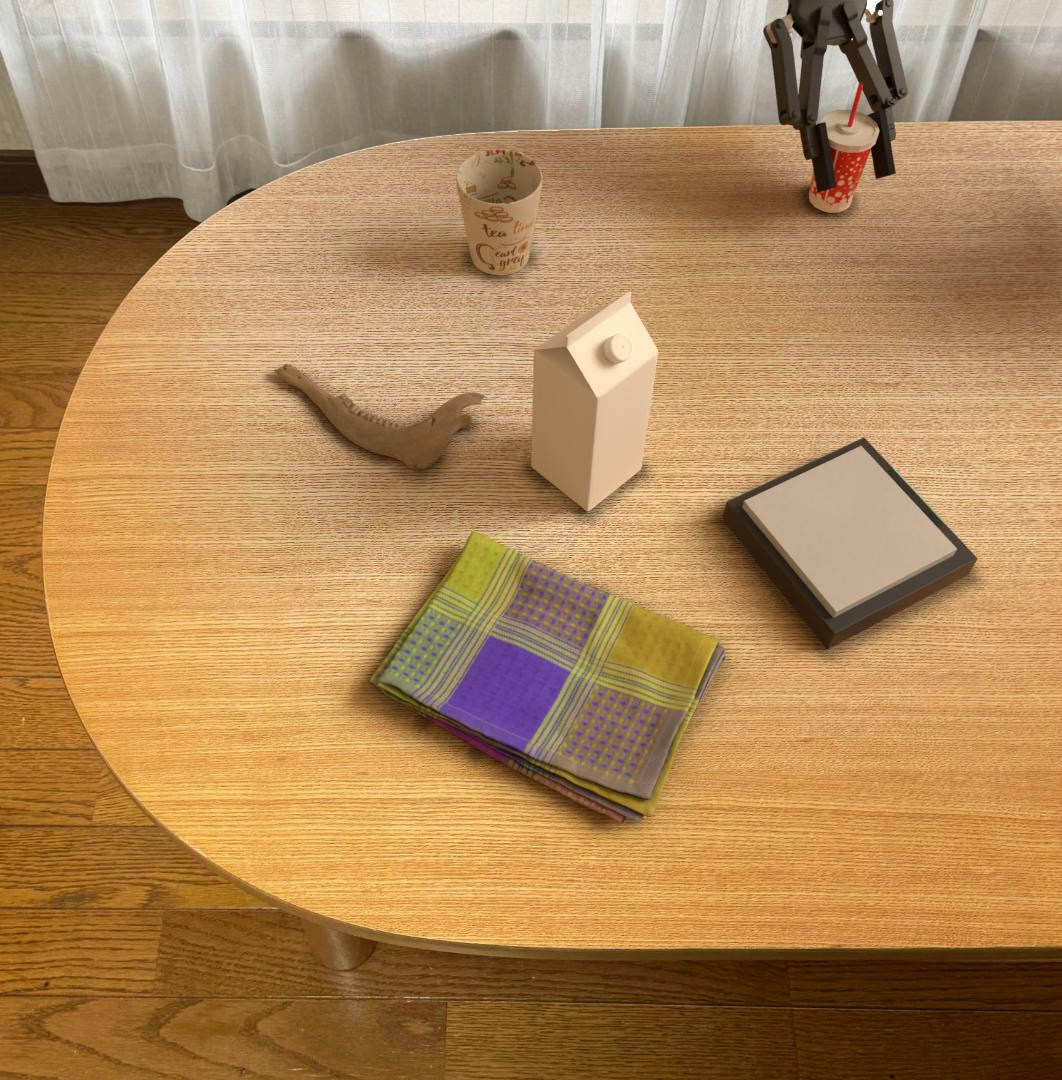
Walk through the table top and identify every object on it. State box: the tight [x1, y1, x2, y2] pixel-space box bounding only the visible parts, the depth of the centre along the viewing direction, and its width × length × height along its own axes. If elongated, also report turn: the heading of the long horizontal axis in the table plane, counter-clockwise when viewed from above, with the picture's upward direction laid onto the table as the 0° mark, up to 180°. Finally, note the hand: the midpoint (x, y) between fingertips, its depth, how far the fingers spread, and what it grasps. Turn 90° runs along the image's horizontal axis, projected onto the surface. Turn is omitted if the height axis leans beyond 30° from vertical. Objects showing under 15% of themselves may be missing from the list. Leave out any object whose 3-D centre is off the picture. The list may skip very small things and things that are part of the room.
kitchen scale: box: [721, 437, 979, 650], centre depth 99 cm, size 15×15×4 cm
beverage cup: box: [808, 82, 880, 214], centre depth 121 cm, size 6×6×14 cm
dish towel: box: [368, 530, 727, 825], centre depth 92 cm, size 18×24×3 cm
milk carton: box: [530, 291, 659, 512], centre depth 98 cm, size 7×7×19 cm
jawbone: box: [274, 363, 488, 470], centre depth 107 cm, size 9×20×2 cm, turn 78°
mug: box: [455, 149, 543, 276], centre depth 118 cm, size 8×13×10 cm, turn 166°
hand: (856, 182), depth 121 cm, fingers closed on beverage cup, 6 cm apart
